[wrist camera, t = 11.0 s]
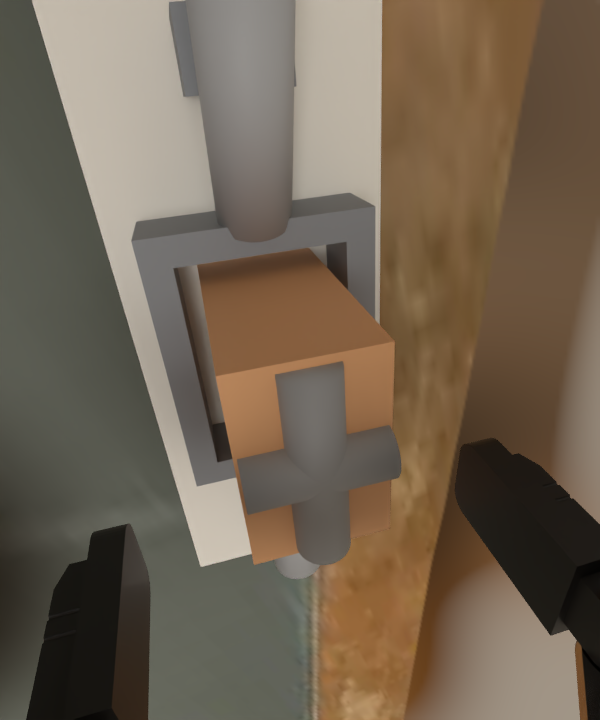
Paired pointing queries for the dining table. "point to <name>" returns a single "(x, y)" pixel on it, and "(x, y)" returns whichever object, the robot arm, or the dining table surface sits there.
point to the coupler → (302, 403)
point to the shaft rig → (219, 184)
